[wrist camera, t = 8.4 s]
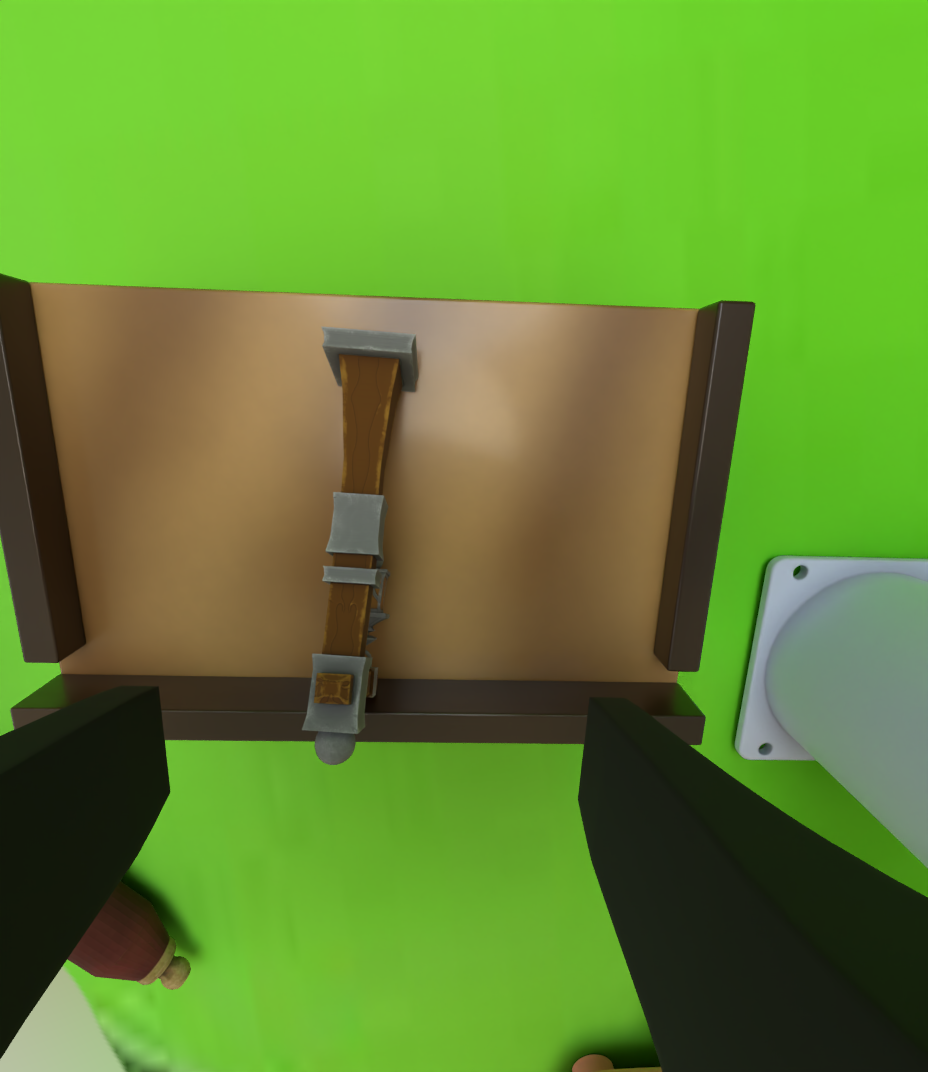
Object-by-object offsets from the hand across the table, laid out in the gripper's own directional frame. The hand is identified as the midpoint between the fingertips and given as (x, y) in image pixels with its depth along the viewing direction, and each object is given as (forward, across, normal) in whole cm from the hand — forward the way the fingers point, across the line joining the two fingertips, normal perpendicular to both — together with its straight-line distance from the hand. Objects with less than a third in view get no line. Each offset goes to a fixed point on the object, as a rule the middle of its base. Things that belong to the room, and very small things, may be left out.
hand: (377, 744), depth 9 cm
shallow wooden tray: (+10, +1, -3) cm, 10 cm away
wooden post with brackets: (+5, 0, -3) cm, 6 cm away
